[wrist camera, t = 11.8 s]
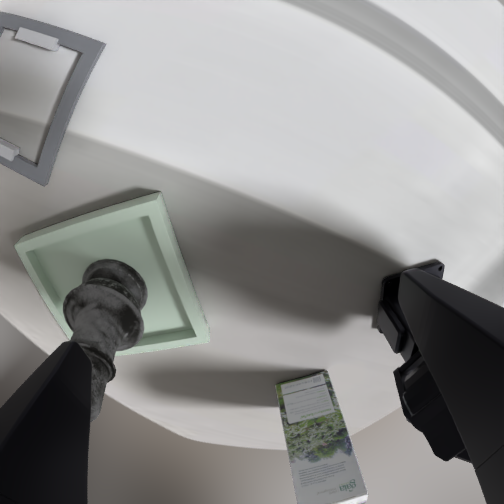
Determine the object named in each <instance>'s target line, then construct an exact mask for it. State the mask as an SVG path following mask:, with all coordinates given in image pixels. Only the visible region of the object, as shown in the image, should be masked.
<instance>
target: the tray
mask: <svg viewBox="0 0 504 504" xmlns="http://www.w3.org/2000/svg"><path fill="white" fill-rule="evenodd" d="M14 247H15V249H16V251H17V253H18V255H19V257H20V259H21V261H22V263H23V265H24V267H25V268H26V270H27V272H28V274H29V276H30V278H31V279H32V281H33V283H34V285H35V286H36V288H37V290H38V292H39V293H40V295H41V297H42V298H43V300H44V302H45V303H46V305H47V306H48V308H49V310H50V311H51V313H52V314H53V316H54V317H55V319H56V321H57V322H58V324H59V325H60V327H61V328H62V329H63V331H64V332H65V334H66V335H67V337H68V338H69V340H71V337H72V335H73V331H72V330H71V329H70V328H69V326H68V324H67V323H66V321H65V318H64V314H63V302H64V300H65V297H66V295H67V294H68V293H69V292H70V291H71V290H72V289H74V288H76V287H78V286H79V285H81V284H82V277H83V274H84V272H85V270H86V269H87V267H88V266H89V265H90V264H92V263H94V262H96V261H98V260H103V259H112V260H118V261H121V262H124V263H126V264H127V265H129V266H131V267H133V268H134V269H135V270H136V271H137V272H138V273H139V274H140V275H141V277H142V278H143V280H144V281H145V284H146V286H147V291H148V297H147V301H146V304H145V306H144V307H143V309H142V310H141V316H142V318H143V321H144V332H143V336H142V339H141V340H140V341H139V343H138V344H137V345H135V346H134V347H132V348H130V349H127V350H124V351H116V353H115V356H121V355H129V354H137V353H144V352H151V351H158V350H165V349H171V348H178V347H184V346H190V345H196V344H201V343H207V342H210V329H209V326H208V324H207V321H206V319H205V316H204V313H203V311H202V308H201V306H200V303H199V300H198V298H197V295H196V292H195V290H194V287H193V284H192V282H191V279H190V276H189V273H188V271H187V268H186V265H185V262H184V259H183V257H182V254H181V251H180V248H179V245H178V242H177V239H176V236H175V233H174V230H173V227H172V224H171V221H170V218H169V215H168V212H167V209H166V206H165V203H164V200H163V197H162V194H161V192H157V193H153V194H150V195H146V196H143V197H139V198H136V199H132V200H129V201H125V202H122V203H119V204H116V205H112V206H109V207H106V208H103V209H99V210H96V211H93V212H90V213H87V214H84V215H81V216H78V217H75V218H72V219H69V220H66V221H63V222H60V223H57V224H55V225H52V226H49V227H46V228H44V229H41V230H38V231H35V232H33V233H30V234H27V235H25V236H23V237H22V238H21V239H20V240H19V241H18V242H17V243H16V244H15V245H14Z"/></svg>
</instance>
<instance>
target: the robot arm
mask: <svg viewBox="0 0 504 504" xmlns="http://www.w3.org/2000/svg"><path fill="white" fill-rule="evenodd" d="M443 272H444V264H443V263H442V262H436V263H433V264H430V265H426V266H423V267H420V268H413V269H409V270H406V271H403V272H402V273H399V274H396V275H392V276H389V277H386V278H385V279H384V280H383V282H382V291H381V300H380V302H379V308H378V318H377V323H378V331H379V332H380V333H383V334H384V335H385V337H386V339H387V341H388V343H389V344H390V346H391V348H392V350H393V351H394V352H395V353H396V354H397V353H401V355H402V357H403V359H404V360H405V363H404V364H403V365H402V366H401V367H398V368H397V369H396V370H395V371H393V373H394V377H395V382H396V386H397V389H398V393H399V397H400V401H401V405H402V409H403V413H404V415H405V417H406V419H407V421H408V422H410V423H411V424H412V425H413V426H414V427H415V428H416V429H418V430H419V431H421V432H423V434H424V435H425V437H426V439H427V440H428V442H429V444H430V446H431V448H432V450H433V452H434V454H435V455H436V456H437V457H439V458H441V459H442V460H444V461H449V460H450V459H452V458H453V457H455V458H458V459H461V460H464V461H467V462H469V463H472V464H473V467H474V469H475V472H476V475H477V477H478V480H479V483H480V486H481V489H482V492H483V494H484V497H485V500H486V503H487V504H504V308H503V307H501V306H499V305H497V304H495V303H493V302H490V301H488V300H486V299H484V298H482V297H480V296H478V295H475V294H473V293H471V292H469V291H467V290H464V289H462V288H460V287H458V286H456V285H453V284H451V283H449V282H447V281H444V280H442V278H443ZM388 282H389V283H388ZM387 283H388V284H387ZM91 387H92V363H91V360H90V358H89V357H88V356H87V354H86V353H85V352H84V350H83V349H82V347H81V346H80V345H79V343H78V342H76V341H66V342H63V343H62V344H61V345H60V346H59V347H58V348H57V349H56V350H55V351H54V352H53V353H52V354H51V355H50V356H49V357H48V358H47V359H46V360H45V361H44V362H43V363H42V364H41V365H40V366H39V367H38V368H37V369H36V370H35V371H34V372H33V374H32V375H31V376H30V377H29V378H28V379H27V380H26V381H25V382H24V383H23V384H22V385H21V386H20V387H19V388H18V389H17V390H16V392H15V393H14V394H13V395H12V396H11V397H10V398H9V399H8V400H7V401H6V403H5V404H4V405H3V406H2V407H1V408H0V504H87V503H88V501H87V476H88V472H87V471H88V449H89V433H90V421H91Z"/></svg>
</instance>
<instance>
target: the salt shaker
mask: <svg viewBox="0 0 504 504" xmlns="http://www.w3.org/2000/svg"><path fill="white" fill-rule="evenodd" d="M147 297H148V291H147V286H146V284H145V281H144V280H143V278H142V277H141V275H140V274H139V273H138V272H137V271H136V270H135V269H134V268H133V267H131V266H129V265H127V264H126V263H124V262H121V261H118V260H112V259H103V260H98V261H96V262H94V263H92V264H90V265H89V266H88V267H87V269H86V270H85V272H84V274H83V277H82V284H81V285H79V286H78V287H76V288H74V289H72V290H71V291H70V292H69V293H68V294H67V295H66V297H65V300H64V302H63V314H64V318H65V321H66V323H67V324H68V326H69V328H70V329H71V330H72V331H73V335H72V337H71V340H70V341H76V342H78V343H79V345H80V346H81V347H82V349H83V350H84V352H85V353H86V354H87V356H88V357H89V358H90V360H91V363H92V387H91V421H90V422H92V421H93V420H95V419H96V418H97V417H98V415H99V413H100V410H101V405H102V401H103V396H104V392H105V388H106V384H107V382H109V381H111V380H113V378H114V377H115V373H116V369H115V365H114V364H113V361H114V357H115V353H116V351H124V350H127V349H130V348H132V347H134V346H135V345H137V344H138V343H139V341H140V340H141V339H142V336H143V332H144V321H143V318H142V316H141V310H142V309H143V307H144V306H145V304H146V301H147Z"/></svg>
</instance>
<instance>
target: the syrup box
mask: <svg viewBox="0 0 504 504" xmlns="http://www.w3.org/2000/svg"><path fill="white" fill-rule="evenodd" d="M275 388H276V393H277V399H278V404H279V409H280V415H281V420H282V425H283V430H284V435H285V441H286V446H287V451H288V456H289V462H290V467H291V472H292V478H293V483H294V488H295V494H296V499H297V504H365V502H366V501H367V497H368V494H367V488H366V484H365V482H364V478H363V476H362V472H361V469H360V466H359V463H358V460H357V457H356V454H355V451H354V448H353V444H352V441H351V438H350V435H349V432H348V429H347V426H346V423H345V420H344V417H343V414H342V411H341V408H340V405H339V402H338V400H337V397H336V394H335V391H334V388H333V385H332V382H331V379H330V376H329V374H328V371H323V372H320V373H316V374H313V375H309V376H306V377H302V378H298V379H295V380H291V381H287V382H283V383H279V384H276V385H275Z"/></svg>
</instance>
